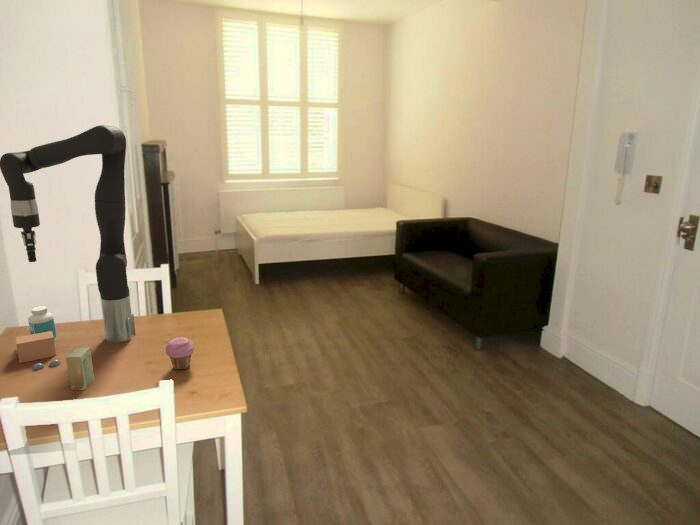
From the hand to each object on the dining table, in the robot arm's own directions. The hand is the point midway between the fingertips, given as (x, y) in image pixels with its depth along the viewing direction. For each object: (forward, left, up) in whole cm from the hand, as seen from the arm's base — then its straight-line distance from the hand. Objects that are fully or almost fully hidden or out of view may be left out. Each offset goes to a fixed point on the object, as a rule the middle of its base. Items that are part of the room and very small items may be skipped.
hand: (31, 258), depth 164 cm
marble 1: (-10, +27, -28) cm, 40 cm away
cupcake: (-53, +28, -30) cm, 67 cm away
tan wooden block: (-6, +18, -30) cm, 35 cm away
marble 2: (-14, +25, -28) cm, 40 cm away
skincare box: (-27, +39, -30) cm, 56 cm away
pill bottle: (-3, +6, -30) cm, 31 cm away
